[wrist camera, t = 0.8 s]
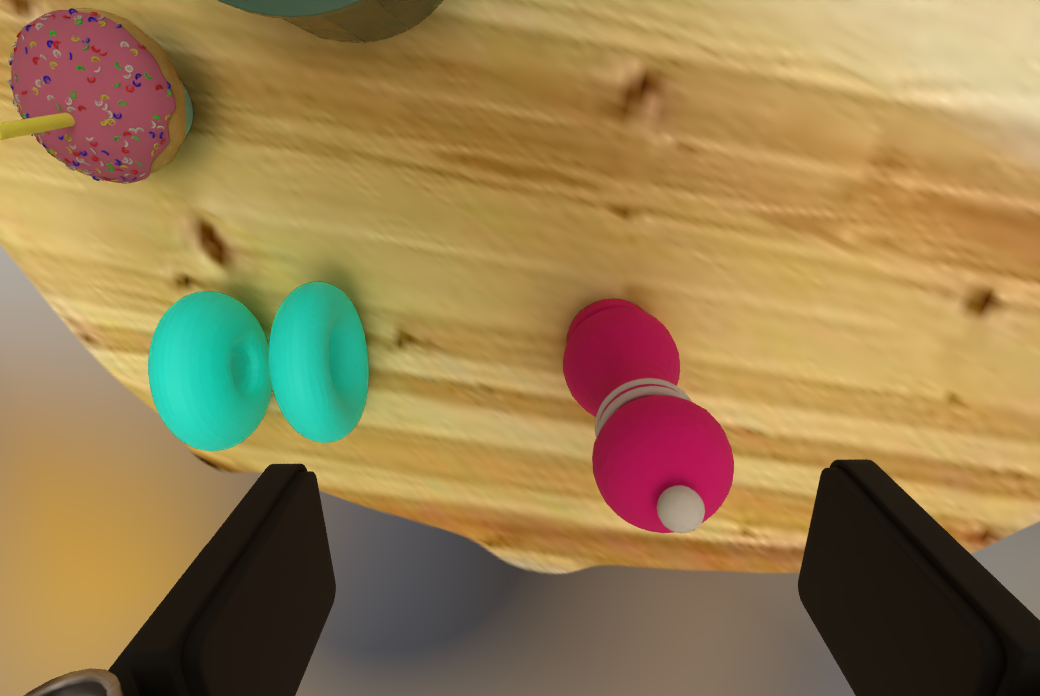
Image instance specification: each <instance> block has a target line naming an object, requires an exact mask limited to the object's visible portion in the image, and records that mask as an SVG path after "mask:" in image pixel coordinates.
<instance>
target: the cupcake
mask: <svg viewBox="0 0 1040 696" xmlns="http://www.w3.org/2000/svg"><path fill="white" fill-rule="evenodd" d="M17 37H18V39H17V42H15V43H14V44H13V45H12V46H14V45H16V47H15V48H14V51H13V52H12V53H11V59H10V60H8V62H10V65H12V67H11V75H12V80H8V83H9V84H10V85H11V88H12V90H13V95H14V101H13V105H14V106H17V112H19V113H20V115H21V116H22V118H23V119H22V120H16V121H10V122H3V123H0V140H2V139H8V138H13V137H18V136H23V135H29V134H31V136H33V134H34V135H35V136H36V139H37V141H38V142H39V143H40V144H42V145H43V146H44V147H45V148H46V150H47V152H48V153H49V154H51V155H52V156H53V157H55V158H57V159H58V160H59V161H62V162H63V163H65V164H66V166H67V167H68V168H69V167H70V168H69V169H71V170H73V171H75V170H77V171H79V172H81V173H84V174H86V175H89V176H92V178H93V179H94V180H97V181H99V180H103V181H104V180H106V181H111V182H118V183H123V184H126V183H132V182H137V181H140V180H143V179H145V178H147V177H148V176H149V175H150V173H152V172H154V171H156V170H158V169H160V168H162V167H163V166H165V165H167V164H168V163H169V162H171V161H172V160H173V158H174V157H175V155H176V153H177V151H178V149H179V147H180V146H181V144H182V142H183V140H184V137H185V136H186V135H187V134H188V132H189V130H190V128H191V125H192V120H193V108H192V103H191V99H190V96H189V94H188V92H187V90H186V88H185V87H184V85H183V84H182V82H181V81H180V79H179V77H178V75H177V74H176V72H175V70H174V68H173V66H172V64H171V62H170V60H169V58H168V56H167V54H166V53H165V51H164V50H163V48H162V47H161V46H160V45H159V44H158V43H157V42H156V41H155V40H153V39H152V38H151V37H149V36H148V35H147V34H145V33H144V32H143V31H142V30H140V29H139V28H138V27H137V26H135V25H134V24H133V23H131V22H130V21H128V20H127V19H125V18H123V17H120V16H117V15H114V14H111V13H108V12H105V11H101V10H95V9H87V8H80V9H72V8H71V9H69V10H58V11H53V12H50V13H47V14H44V15H42V16H41V17H39V18H37V19H36V20H34V21H33V22H31V23H30V24H28V25H26V26H25V27H24V28H23V29H22V30H21V31H20V32H19V34H18V35H17ZM12 56H13V58H12ZM11 81H12V82H11ZM10 82H11V83H10ZM95 178H97V179H95Z"/></svg>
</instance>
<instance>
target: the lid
mask: <svg viewBox="0 0 1040 696" xmlns="http://www.w3.org/2000/svg"><path fill="white" fill-rule="evenodd" d="M218 1H220V2H222V3H225V4H227V5H230V6H232V7H235V8H238V9H241V10H243V11H246V12H249V13H253V14H258V15H262V16H267V17H271V18H282V19H296V20H297V19H310V18H321V17H325V16H329V15H333V14H337V13H342V12H344V11H347V10H349V9H352V8H354V7H356V6H359V5H361V4H364V3H365V2H367V1H369V0H218Z"/></svg>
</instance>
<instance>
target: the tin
mask: <svg viewBox="0 0 1040 696" xmlns="http://www.w3.org/2000/svg"><path fill="white" fill-rule="evenodd" d="M442 1H443V0H369V1H367V2H365V3H364V4H361V5H359V6H356V7H354V8H352V9H349V10H347V11H344V12H342V13H337V14H333V15H329V16H325V17H321V18H310V19H297V20H296V19H284V20H286V21H288V22H290V23H292V24H294V25H296V26H298V27H300V28H302V29H304V30H306V31H308V32H310V33H312V34H314V35H316V36H318V37H320V38H323V39H332V40H337V41H342V42H356V43H360V42H364V43H366V42H373V41H378V40H382V39H387V38H390V37H393V36H395V35H398V34H400V33H403V32H405V31H407V30H408V29H410V28H412V27H414V26H415V25H417V24H419V23H420V22H421V21H422V20H424V19H425V18H426V17H427V16H429V15H430V14H431V13H432V12H433V11H434V10H435V9H436V8H437V7H438V6H439V5H440V4H441V3H442Z"/></svg>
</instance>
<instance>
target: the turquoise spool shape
mask: <svg viewBox="0 0 1040 696" xmlns="http://www.w3.org/2000/svg"><path fill="white" fill-rule="evenodd" d="M148 374H149V383H150V389H151V393H152V397H153V400H154V403H155V406H156V408H157V411H158V413H159V415H160V417H161V418H162V420H163V422H164V423H165V425H166V426H167V427H168V428H169V430H170V431H171V432H172V433H173V434H174V435H175V436H176V437H177V438H178V439H180V440H181V441H182V442H184V443H186V444H188V445H190V446H192V447H194V448H197V449H201V450H206V451H219V450H224V449H228V448H231V447H234V446H235V445H237V444H239V443H241V442H242V441H244V440H245V439H246V438H248V437H249V436H250V435H251V434H252V433H253V432H254V431H255V429H256V428H257V427H258V425H259V424H260V422H261V420H262V419H263V417H264V415H265V413H266V410H267V408H268V405H269V401H270V397H271V392H272V387H273V391H274V394H275V397H276V400H277V403H278V405H279V407H280V409H281V412H282V413H283V415H284V417H285V418H286V420H287V421H288V422H289V423H290V425H291V426H292V427H293V428H294V429H295V430H296V431H297V432H298V433H300V434H301V435H302V436H304V437H306V438H308V439H310V440H312V441H315V442H322V443H328V442H334V441H337V440H340V439H342V438H343V437H345V436H347V435H348V434H349V433H350V432H351V431H352V430H353V429H354V428H355V426H356V425H357V424H358V422H359V420H360V418H361V415H362V413H363V410H364V407H365V403H366V398H367V392H368V381H369V365H368V353H367V345H366V339H365V334H364V330H363V327H362V324H361V321H360V318H359V315H358V313H357V311H356V309H355V307H354V305H353V303H352V302H351V300H350V299H349V298H348V296H347V295H346V294H345V293H344V292H343V291H341V290H340V289H339V288H338V287H336V286H334V285H332V284H329V283H325V282H310V283H307V284H303V285H301V286H300V287H298V288H296V289H295V290H293V291H292V292H291V293H290V294H289V295H288V296H287V297H286V298H285V300H284V301H283V303H282V304H281V306H280V308H279V309H278V311H277V313H276V316H275V318H274V322H273V325H272V329H271V334H270V341H269V345H268V341H267V338H266V336H265V334H264V331H263V329H262V327H261V325H260V324H259V322H258V320H257V319H256V318H255V316H254V315H253V314H252V313H251V312H250V310H249V309H248V308H247V307H246V306H244V305H243V304H242V303H241V302H239V301H238V300H236V299H234V298H233V297H231V296H228V295H226V294H223V293H219V292H212V291H203V292H196V293H193V294H190V295H187V296H185V297H183V298H181V299H180V300H178V301H177V302H175V303H174V304H173V305H172V306H171V307H170V308H169V309H168V310H167V311H166V312H165V314H164V315H163V317H162V318H161V320H160V321H159V323H158V326H157V328H156V330H155V332H154V335H153V338H152V342H151V346H150V351H149V360H148Z"/></svg>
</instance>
